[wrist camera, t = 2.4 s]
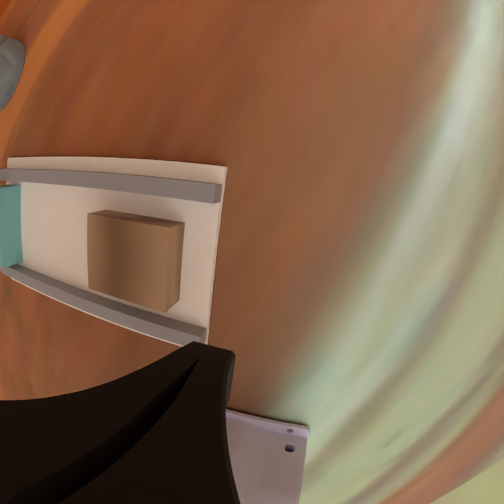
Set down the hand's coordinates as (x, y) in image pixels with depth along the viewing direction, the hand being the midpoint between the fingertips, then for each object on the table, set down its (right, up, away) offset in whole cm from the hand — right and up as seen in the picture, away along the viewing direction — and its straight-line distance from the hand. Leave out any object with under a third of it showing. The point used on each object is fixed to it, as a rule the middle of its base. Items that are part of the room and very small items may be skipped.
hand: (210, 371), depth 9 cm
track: (-12, +5, +11) cm, 17 cm away
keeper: (-6, +4, +10) cm, 12 cm away
